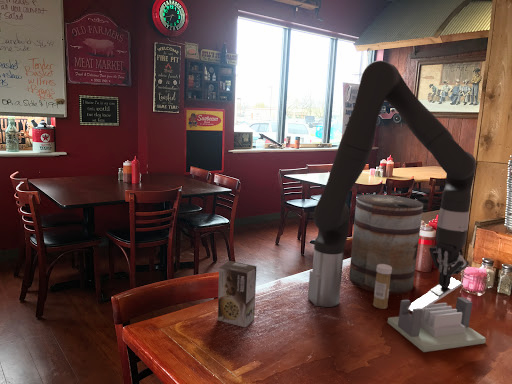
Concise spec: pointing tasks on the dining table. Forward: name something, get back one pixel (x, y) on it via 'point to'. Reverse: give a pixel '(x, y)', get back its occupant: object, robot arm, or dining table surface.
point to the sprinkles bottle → (382, 286)
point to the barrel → (385, 241)
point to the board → (437, 325)
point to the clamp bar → (433, 295)
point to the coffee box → (236, 293)
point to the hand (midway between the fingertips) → (444, 286)
